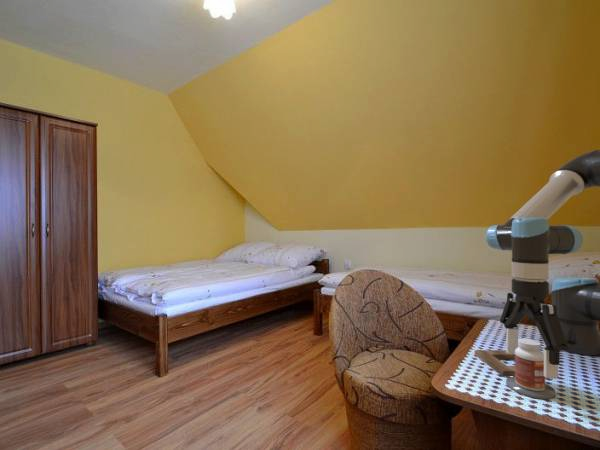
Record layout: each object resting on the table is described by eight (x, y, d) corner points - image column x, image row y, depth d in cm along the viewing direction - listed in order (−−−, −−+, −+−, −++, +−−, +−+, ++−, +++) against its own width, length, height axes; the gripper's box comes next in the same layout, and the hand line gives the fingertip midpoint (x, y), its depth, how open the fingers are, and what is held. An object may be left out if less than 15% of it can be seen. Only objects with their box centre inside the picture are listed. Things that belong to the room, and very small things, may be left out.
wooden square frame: (519, 355, 98) (519, 350, 98) (555, 376, 84) (555, 371, 84) (474, 354, 98) (474, 350, 98) (502, 376, 84) (502, 371, 84)
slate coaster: (535, 378, 83) (535, 376, 83) (566, 399, 73) (566, 397, 73) (497, 378, 83) (497, 376, 83) (523, 399, 73) (523, 396, 73)
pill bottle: (539, 394, 74) (539, 348, 74) (510, 384, 79) (510, 340, 79) (549, 387, 78) (548, 342, 78) (521, 377, 83) (520, 335, 83)
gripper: (589, 289, 66) (590, 390, 66) (512, 271, 91) (512, 344, 91) (553, 289, 66) (554, 389, 66) (485, 271, 91) (486, 344, 91)
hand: (529, 363), depth 78 cm, fingers open, 13 cm apart
